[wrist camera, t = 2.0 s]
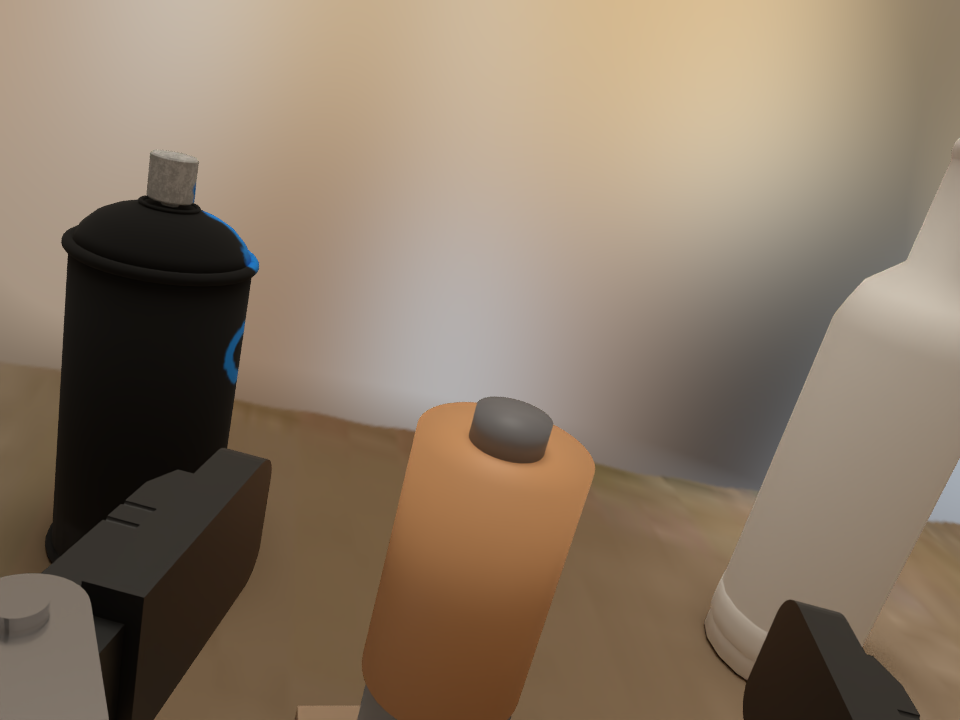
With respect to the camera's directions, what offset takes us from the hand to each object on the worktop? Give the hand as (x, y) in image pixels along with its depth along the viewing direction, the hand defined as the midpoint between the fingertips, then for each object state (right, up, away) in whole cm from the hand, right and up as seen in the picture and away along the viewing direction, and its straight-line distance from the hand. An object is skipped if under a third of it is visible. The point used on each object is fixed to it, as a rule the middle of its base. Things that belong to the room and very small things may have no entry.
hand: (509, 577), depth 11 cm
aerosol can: (-18, -6, +28) cm, 34 cm away
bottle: (+16, -14, +32) cm, 38 cm away
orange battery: (-2, -7, +15) cm, 16 cm away
